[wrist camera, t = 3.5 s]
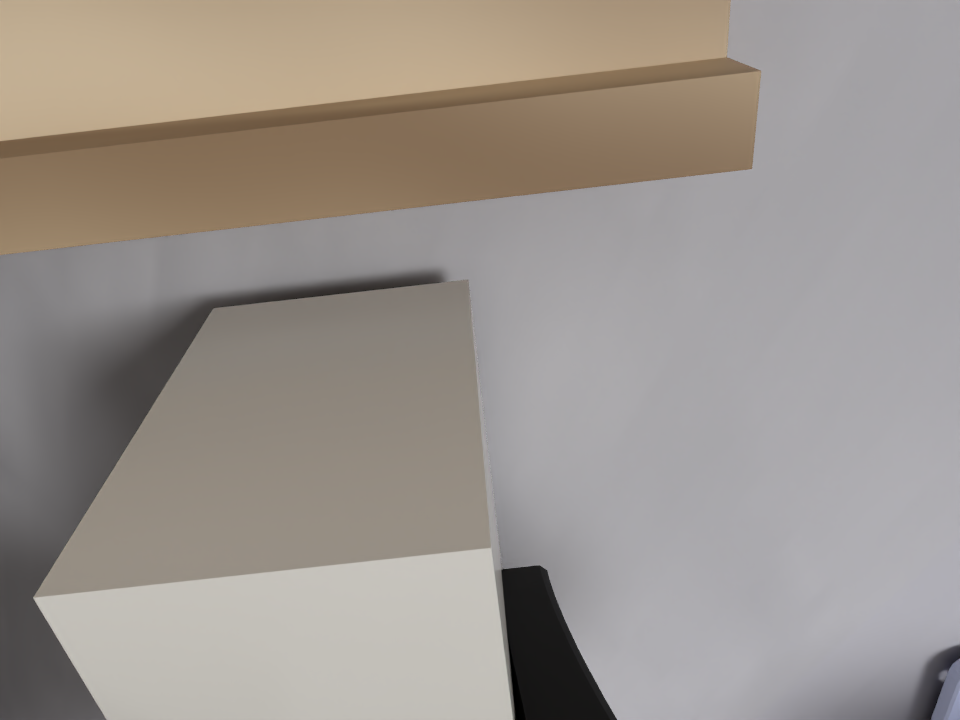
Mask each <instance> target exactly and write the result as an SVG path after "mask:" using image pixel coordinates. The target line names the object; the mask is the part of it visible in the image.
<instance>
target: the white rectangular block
mask: <svg viewBox="0 0 960 720" xmlns="http://www.w3.org/2000/svg"><path fill="white" fill-rule="evenodd" d="M501 570H502V561H501V552H500V544H499V535H498V527H497V518H496V510H495V501H494V493H493V485H492V476H491V468H490V459H489V451H488V442H487V434H486V425H485V417H484V408H483V400H482V391H481V383H480V374H479V366H478V358H477V349H476V341H475V332H474V324H473V315H472V307H471V298H470V290H469V281H468V280H461V281H452V282H443V283H434V284H425V285H416V286H407V287H398V288H389V289H381V290H372V291H363V292H354V293H345V294H336V295H327V296H318V297H309V298H300V299H292V300H283V301H274V302H265V303H256V304H247V305H238V306H229V307H220V308H213V310H212V311H211V313H210V314H209V316H208V318H207V319H206V321H205V322H204V324H203V326H202V327H201V329H200V330H199V332H198V334H197V335H196V337H195V338H194V340H193V342H192V343H191V345H190V347H189V348H188V350H187V351H186V353H185V355H184V356H183V358H182V359H181V361H180V363H179V364H178V366H177V367H176V369H175V371H174V372H173V374H172V375H171V377H170V379H169V380H168V382H167V383H166V385H165V387H164V388H163V390H162V391H161V393H160V395H159V396H158V398H157V400H156V401H155V403H154V404H153V406H152V408H151V409H150V411H149V412H148V414H147V416H146V417H145V419H144V420H143V422H142V424H141V425H140V427H139V428H138V430H137V432H136V433H135V435H134V436H133V438H132V440H131V441H130V443H129V445H128V446H127V448H126V449H125V451H124V453H123V454H122V456H121V457H120V459H119V461H118V462H117V464H116V465H115V467H114V469H113V470H112V472H111V473H110V475H109V477H108V478H107V480H106V481H105V483H104V485H103V486H102V488H101V490H100V491H99V493H98V494H97V496H96V498H95V499H94V501H93V502H92V504H91V506H90V507H89V509H88V510H87V512H86V514H85V515H84V517H83V518H82V520H81V522H80V523H79V525H78V526H77V528H76V530H75V531H74V533H73V534H72V536H71V538H70V539H69V541H68V543H67V544H66V546H65V547H64V549H63V551H62V552H61V554H60V555H59V557H58V559H57V560H56V562H55V563H54V565H53V567H52V568H51V570H50V571H49V573H48V575H47V576H46V578H45V579H44V581H43V583H42V584H41V586H40V588H39V589H38V591H37V592H36V594H35V596H34V597H33V599H34V600H35V602H36V604H37V605H38V607H39V608H40V610H41V612H42V613H43V615H44V617H45V618H46V620H47V622H48V623H49V625H50V627H51V628H52V630H53V632H54V633H55V635H56V637H57V638H58V640H59V642H60V643H61V645H62V647H63V648H64V650H65V652H66V653H67V655H68V657H69V658H70V660H71V662H72V663H73V665H74V667H75V668H76V670H77V672H78V673H79V675H80V677H81V678H82V680H83V682H84V683H85V685H86V687H87V688H88V690H89V691H90V693H91V695H92V696H93V698H94V700H95V701H96V703H97V705H98V706H99V708H100V710H101V711H102V713H103V715H104V716H105V718H106V720H518V719H517V710H516V702H515V694H514V686H513V677H512V669H511V661H510V653H509V644H508V636H507V627H506V616H505V606H504V595H503V584H502V573H501Z"/></svg>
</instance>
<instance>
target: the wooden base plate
mask: <svg viewBox="0 0 960 720" xmlns="http://www.w3.org/2000/svg"><path fill="white" fill-rule="evenodd" d="M730 2H731V0H0V255H4V254H13V253H21V252H30V251H39V250H48V249H56V248H65V247H74V246H83V245H91V244H100V243H109V242H118V241H126V240H135V239H144V238H153V237H161V236H170V235H179V234H188V233H196V232H205V231H214V230H223V229H231V228H240V227H249V226H257V225H266V224H275V223H284V222H292V221H301V220H310V219H319V218H327V217H336V216H345V215H354V214H362V213H371V212H380V211H389V210H397V209H406V208H415V207H424V206H432V205H441V204H450V203H459V202H467V201H476V200H485V199H494V198H502V197H511V196H520V195H529V194H537V193H546V192H555V191H564V190H572V189H581V188H590V187H599V186H607V185H616V184H625V183H634V182H642V181H651V180H660V179H669V178H677V177H686V176H695V175H704V174H712V173H721V172H730V171H739V170H747V169H752V163H753V153H754V142H755V131H756V121H757V110H758V99H759V88H760V78H761V71H760V70H758V69H755V68H752V67H750V66H747V65H745V64H742V63H740V62H737V61H735V60H732V59H730V58H727V45H728V31H729V17H730Z"/></svg>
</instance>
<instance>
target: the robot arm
mask: <svg viewBox="0 0 960 720" xmlns="http://www.w3.org/2000/svg"><path fill="white" fill-rule="evenodd" d="M501 573H502V584H503V595H504V606H505V616H506V627H507V636H508V644H509V653H510V661H511V669H512V677H513V686H514V694H515V702H516V710H517V719H518V720H617V719H616V717H615V715H614V714H613V712H612V710H611V709H610V707H609V705H608V703H607V702H606V700H605V698H604V696H603V694H602V693H601V691H600V689H599V687H598V685H597V683H596V682H595V680H594V678H593V676H592V674H591V672H590V671H589V669H588V667H587V665H586V663H585V661H584V659H583V657H582V655H581V653H580V651H579V649H578V647H577V645H576V643H575V641H574V639H573V637H572V635H571V633H570V630H569V628H568V626H567V624H566V622H565V620H564V617H563V615H562V612H561V610H560V608H559V605H558V603H557V600H556V597H555V595H554V592H553V589H552V586H551V583H550V580H549V576H548V572H547V570H546V569H544V568H543V567H541V566H540V565H539V566H530V567H520V568H511V569H502V570H501ZM931 720H960V658H959V659H958V660H957V661H955V662H954V663H953V664H952V666H951V667H950V669H949V671H948V674H947V676H946V679H945V682H944V685H943V687H942V690H941V693H940V696H939V698H938V701H937V704H936V707H935V709H934V712H933V715H932V718H931Z"/></svg>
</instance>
